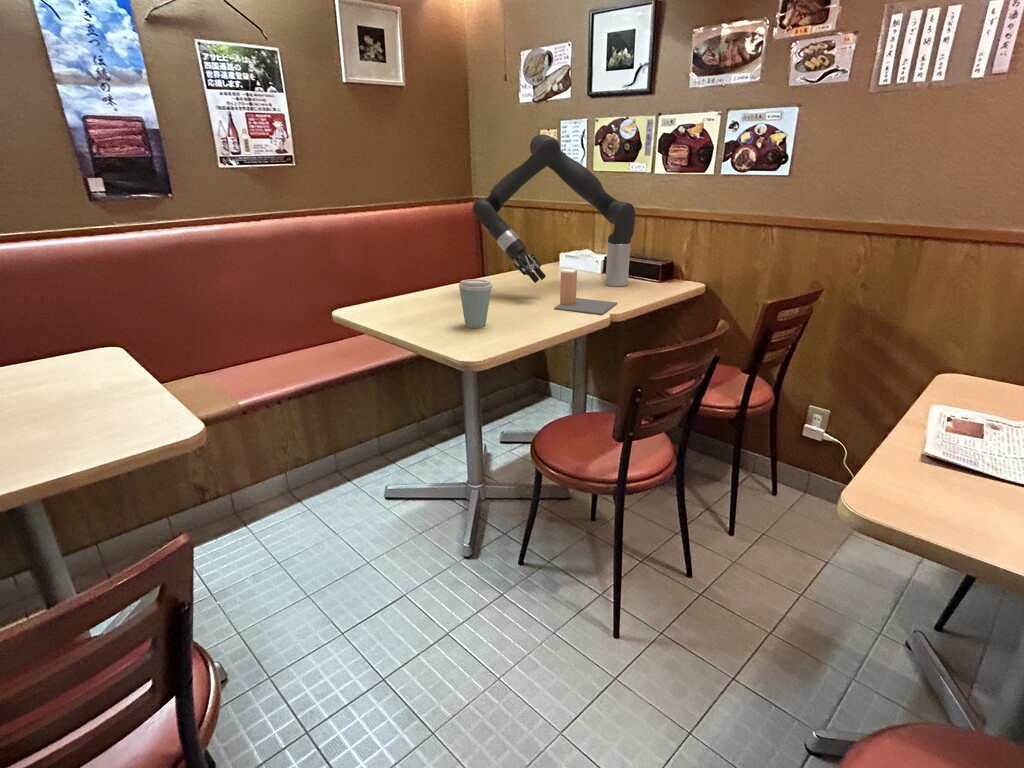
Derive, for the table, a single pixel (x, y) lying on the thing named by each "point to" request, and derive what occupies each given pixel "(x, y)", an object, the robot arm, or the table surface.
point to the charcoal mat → (587, 306)
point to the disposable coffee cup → (475, 301)
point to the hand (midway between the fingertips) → (540, 279)
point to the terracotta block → (568, 286)
